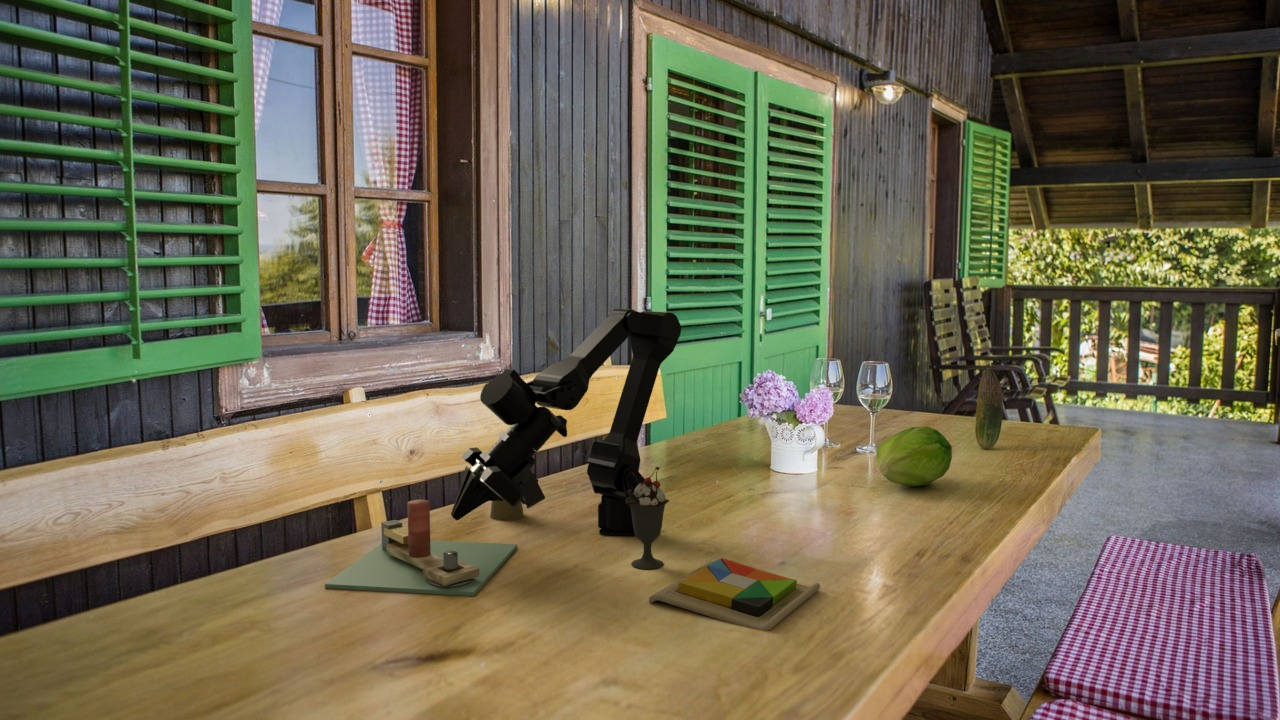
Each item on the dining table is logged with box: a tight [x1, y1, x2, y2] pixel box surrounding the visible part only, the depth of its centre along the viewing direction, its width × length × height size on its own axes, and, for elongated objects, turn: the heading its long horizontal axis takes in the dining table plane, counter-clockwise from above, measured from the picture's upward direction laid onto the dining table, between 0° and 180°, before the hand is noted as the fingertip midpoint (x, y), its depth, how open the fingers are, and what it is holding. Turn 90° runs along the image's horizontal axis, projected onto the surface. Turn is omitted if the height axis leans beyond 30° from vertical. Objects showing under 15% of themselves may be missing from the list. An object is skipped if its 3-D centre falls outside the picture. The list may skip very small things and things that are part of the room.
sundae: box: [626, 466, 670, 571], centre depth 143 cm, size 7×7×15 cm
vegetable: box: [974, 367, 1004, 450], centre depth 230 cm, size 6×6×20 cm
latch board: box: [324, 539, 518, 597], centre depth 143 cm, size 22×22×1 cm
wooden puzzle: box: [648, 557, 821, 632], centre depth 130 cm, size 18×19×4 cm
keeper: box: [380, 519, 408, 552], centre depth 147 cm, size 8×3×5 cm, turn 41°
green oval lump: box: [875, 426, 953, 487], centre depth 191 cm, size 14×20×12 cm
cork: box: [489, 496, 525, 522], centre depth 170 cm, size 6×6×11 cm
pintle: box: [428, 551, 474, 588], centre depth 135 cm, size 6×6×5 cm
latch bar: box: [386, 499, 479, 586], centre depth 139 cm, size 19×6×9 cm, turn 44°
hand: (453, 517), depth 142 cm, fingers closed
